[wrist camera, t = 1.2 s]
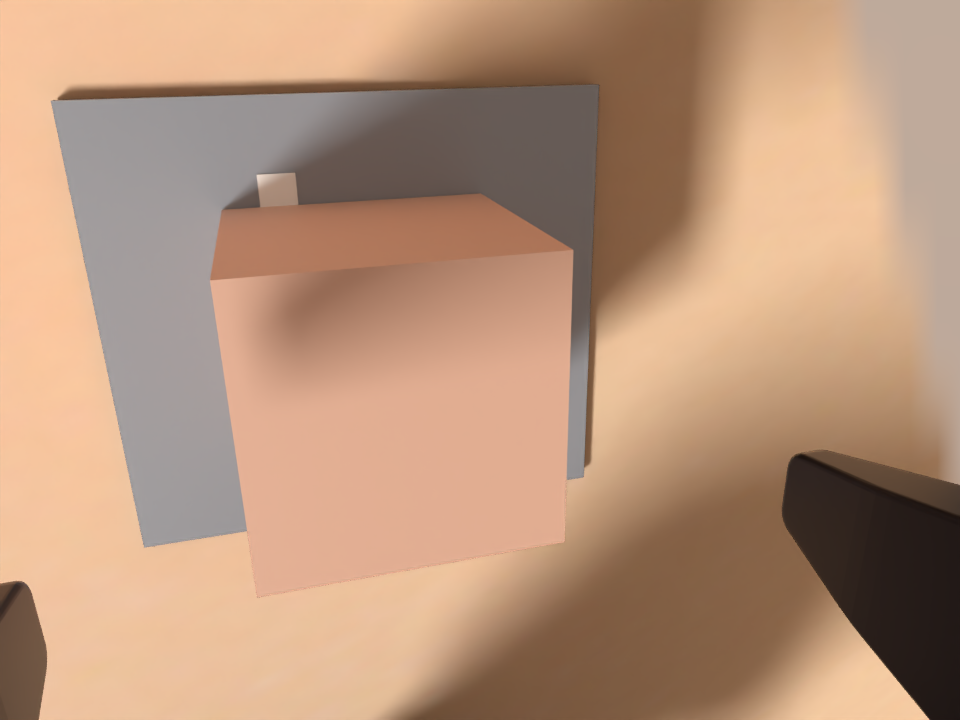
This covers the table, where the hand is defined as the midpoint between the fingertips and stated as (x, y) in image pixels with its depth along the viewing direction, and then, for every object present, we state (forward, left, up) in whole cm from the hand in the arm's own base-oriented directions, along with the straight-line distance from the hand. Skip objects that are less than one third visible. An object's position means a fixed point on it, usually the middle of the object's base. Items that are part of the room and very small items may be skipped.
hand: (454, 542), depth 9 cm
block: (0, 0, -8) cm, 8 cm away
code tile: (0, 0, -8) cm, 8 cm away
